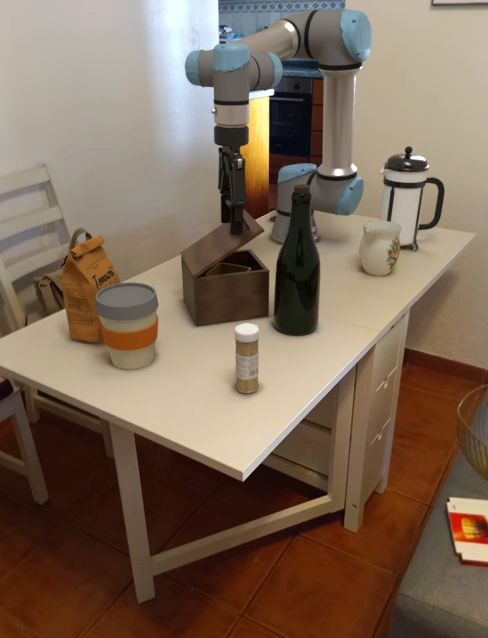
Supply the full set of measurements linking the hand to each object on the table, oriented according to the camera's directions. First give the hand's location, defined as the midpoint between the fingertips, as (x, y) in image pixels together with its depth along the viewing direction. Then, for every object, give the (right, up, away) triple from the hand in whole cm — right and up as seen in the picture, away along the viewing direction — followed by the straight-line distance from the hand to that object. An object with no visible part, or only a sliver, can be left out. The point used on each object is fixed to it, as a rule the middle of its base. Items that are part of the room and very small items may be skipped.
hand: (231, 228), depth 138 cm
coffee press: (+52, +5, +50) cm, 72 cm away
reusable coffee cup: (-21, -30, -11) cm, 38 cm away
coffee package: (-30, -25, -1) cm, 39 cm away
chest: (-2, -18, +10) cm, 21 cm away
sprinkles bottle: (+4, -36, -21) cm, 42 cm away
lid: (-2, -4, +1) cm, 4 cm away
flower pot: (-1, -17, +9) cm, 20 cm away
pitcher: (+41, -6, +31) cm, 52 cm away
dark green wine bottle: (+15, -23, +2) cm, 27 cm away
